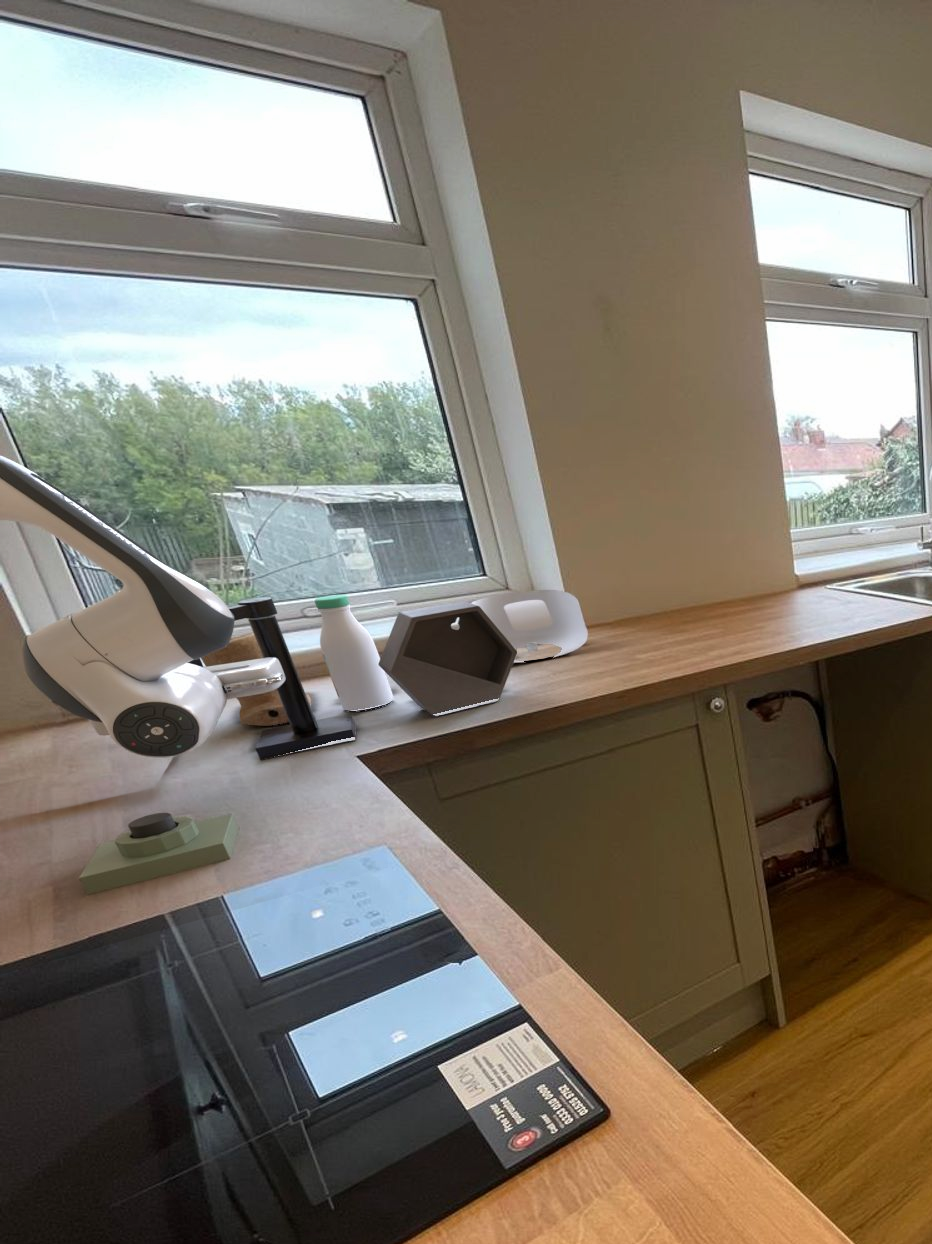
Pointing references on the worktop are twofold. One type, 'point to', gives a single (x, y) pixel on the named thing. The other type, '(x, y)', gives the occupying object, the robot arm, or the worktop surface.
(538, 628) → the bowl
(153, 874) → the control block
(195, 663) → the spout
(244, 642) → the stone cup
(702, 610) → the worktop surface
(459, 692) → the planter
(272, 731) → the base
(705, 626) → the worktop surface
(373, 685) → the milk bottle
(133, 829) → the button
